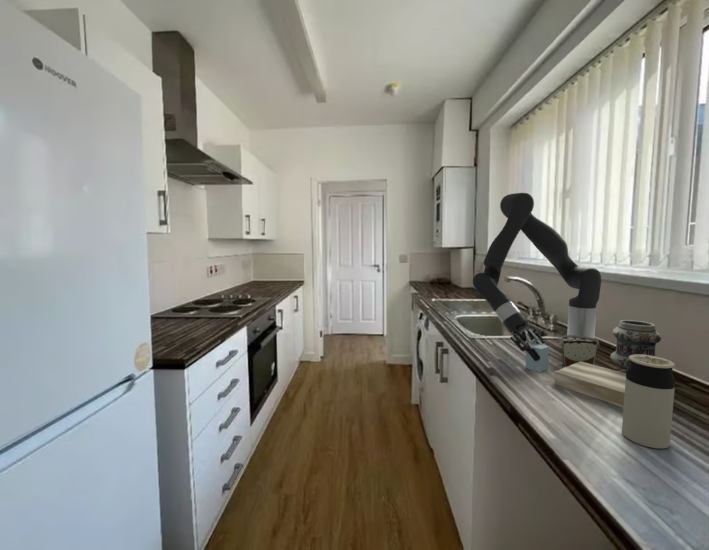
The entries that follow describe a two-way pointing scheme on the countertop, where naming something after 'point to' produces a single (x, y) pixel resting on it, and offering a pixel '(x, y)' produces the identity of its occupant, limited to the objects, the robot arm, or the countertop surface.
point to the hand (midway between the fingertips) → (542, 358)
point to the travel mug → (648, 401)
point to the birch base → (593, 382)
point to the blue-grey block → (542, 362)
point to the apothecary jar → (633, 341)
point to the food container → (578, 349)
